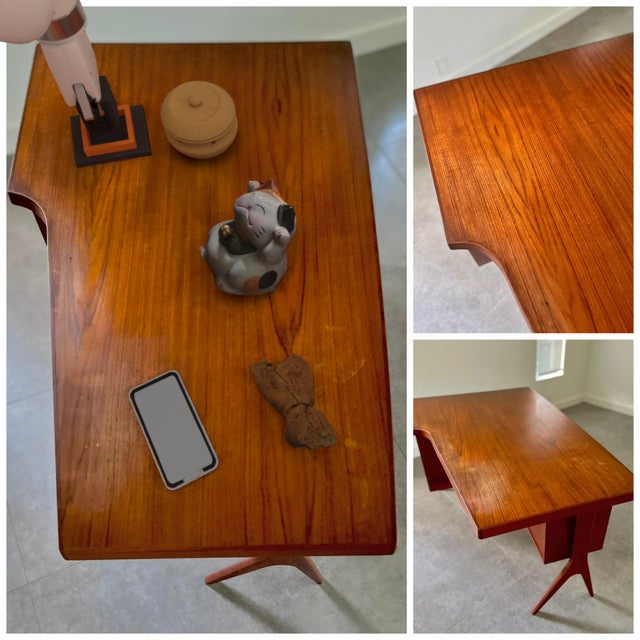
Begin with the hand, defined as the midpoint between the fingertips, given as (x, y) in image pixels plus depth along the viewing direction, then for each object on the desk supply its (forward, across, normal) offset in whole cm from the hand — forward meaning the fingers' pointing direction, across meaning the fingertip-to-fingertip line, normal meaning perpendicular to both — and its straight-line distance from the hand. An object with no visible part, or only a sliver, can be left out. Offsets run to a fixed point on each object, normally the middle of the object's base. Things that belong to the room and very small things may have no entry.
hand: (101, 115), depth 84 cm
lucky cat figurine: (+5, +27, +18) cm, 33 cm away
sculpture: (+5, +52, +18) cm, 55 cm away
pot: (+5, +4, +15) cm, 16 cm away
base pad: (+5, 0, 0) cm, 5 cm away
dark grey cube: (+1, 0, 0) cm, 1 cm away
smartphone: (+5, +51, +3) cm, 51 cm away
